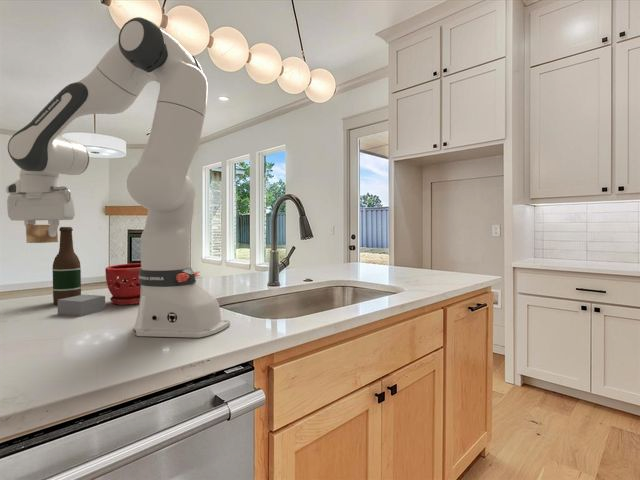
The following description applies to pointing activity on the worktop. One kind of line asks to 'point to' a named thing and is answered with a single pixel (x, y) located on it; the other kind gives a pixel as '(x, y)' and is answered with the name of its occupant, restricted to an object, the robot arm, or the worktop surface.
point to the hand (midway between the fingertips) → (42, 236)
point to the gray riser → (81, 305)
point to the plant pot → (124, 283)
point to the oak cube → (39, 234)
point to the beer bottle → (66, 268)
